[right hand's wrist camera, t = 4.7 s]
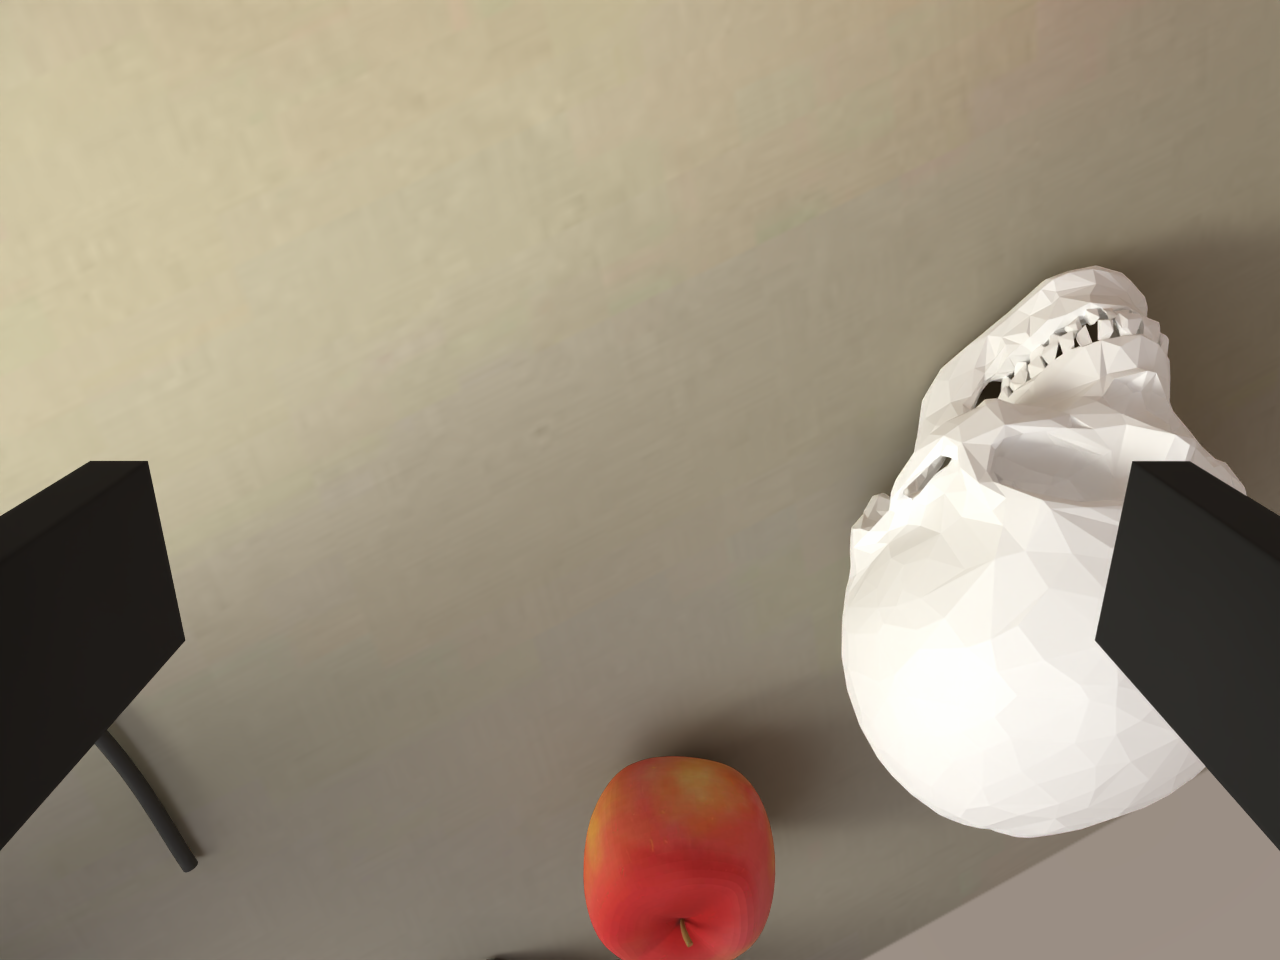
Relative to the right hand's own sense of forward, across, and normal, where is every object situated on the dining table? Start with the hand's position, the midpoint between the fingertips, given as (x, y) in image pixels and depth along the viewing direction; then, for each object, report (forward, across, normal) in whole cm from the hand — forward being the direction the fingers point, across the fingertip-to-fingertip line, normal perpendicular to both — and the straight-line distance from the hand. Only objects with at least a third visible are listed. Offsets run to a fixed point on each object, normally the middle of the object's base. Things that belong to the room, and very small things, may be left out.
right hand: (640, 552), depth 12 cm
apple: (+28, +2, -28) cm, 40 cm away
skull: (+28, +16, -11) cm, 34 cm away
